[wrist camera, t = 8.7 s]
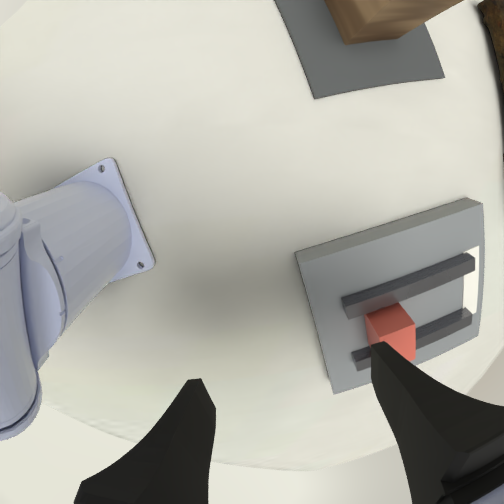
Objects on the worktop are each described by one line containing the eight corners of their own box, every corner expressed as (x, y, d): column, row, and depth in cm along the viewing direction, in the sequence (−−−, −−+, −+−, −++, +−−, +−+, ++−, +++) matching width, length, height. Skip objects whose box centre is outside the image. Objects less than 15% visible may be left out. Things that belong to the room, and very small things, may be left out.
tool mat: (314, 99, 16) (315, 98, 16) (261, -27, 13) (261, -29, 13) (442, 78, 15) (445, 77, 15) (390, -36, 12) (392, -38, 12)
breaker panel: (329, 378, 24) (336, 405, 21) (294, 252, 20) (301, 272, 17) (467, 324, 22) (484, 343, 19) (467, 197, 18) (493, 207, 15)
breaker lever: (368, 343, 20) (382, 372, 17) (363, 309, 19) (379, 337, 16) (398, 332, 19) (415, 358, 16) (395, 298, 18) (415, 323, 15)
